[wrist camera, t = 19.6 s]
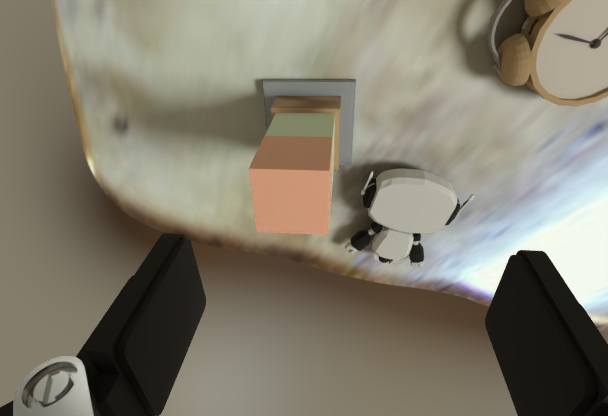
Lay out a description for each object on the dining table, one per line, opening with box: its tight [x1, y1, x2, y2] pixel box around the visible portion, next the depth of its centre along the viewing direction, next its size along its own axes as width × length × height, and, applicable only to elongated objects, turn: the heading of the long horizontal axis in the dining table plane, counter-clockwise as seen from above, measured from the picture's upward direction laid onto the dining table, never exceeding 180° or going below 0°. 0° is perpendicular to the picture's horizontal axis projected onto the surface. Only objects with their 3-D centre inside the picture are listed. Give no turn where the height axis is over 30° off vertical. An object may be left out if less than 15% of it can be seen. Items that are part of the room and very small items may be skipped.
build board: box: [263, 79, 356, 166], centre depth 42 cm, size 10×10×1 cm
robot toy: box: [345, 169, 474, 267], centre depth 46 cm, size 12×4×15 cm
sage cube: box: [265, 113, 335, 196], centre depth 36 cm, size 6×6×6 cm
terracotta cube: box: [249, 136, 333, 235], centre depth 31 cm, size 6×6×6 cm
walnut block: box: [271, 96, 341, 171], centre depth 40 cm, size 7×7×4 cm
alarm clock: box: [487, 0, 608, 106], centre depth 33 cm, size 11×5×15 cm
